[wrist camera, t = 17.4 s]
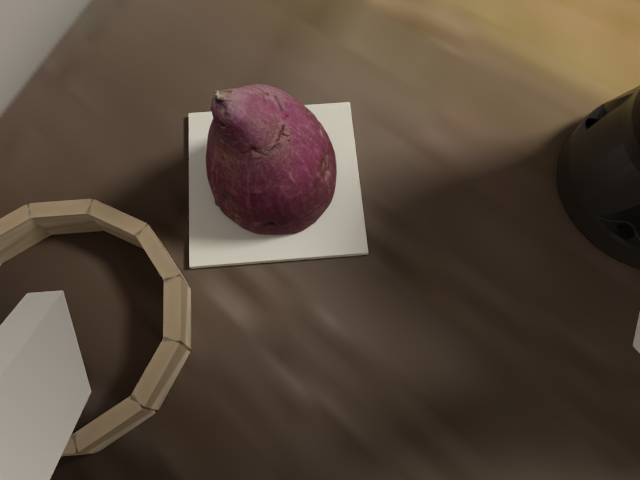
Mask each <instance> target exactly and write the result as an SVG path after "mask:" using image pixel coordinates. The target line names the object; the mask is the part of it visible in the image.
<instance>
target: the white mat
mask: <svg viewBox="0 0 640 480" xmlns="http://www.w3.org/2000/svg"><path fill="white" fill-rule="evenodd" d="M304 106H305V107H307V108H308V109H309V110H310V111H311V112H312V113H313V114H314V115H315V116H316V118H317V120H318V121H319V122H320V123H321V124H322V126H323V127H324V129H325V131H326V133H327V134H328V136H329V139H330V141H331V143H332V145H333V149H334V152H335V156H336V165H337V166H336V168H337V175H336V187H335V192H334V196H333V199H332V201H331V203H330V205H329V207H328V208H327V209H326V210H325V212H324V213H323V214H322V215H321V216H320V218H319V219H318V220H317V221H316V223H314V224H312V225H311V226H309V227H308V228H307V229H305V230H303V231H301V232H299V233H296V234H284V235H264V234H256V233H253V232H250V231H248V230H245V229H243V228H242V227H240V226H239V225H238V224H236V223H235V222H233V221H232V220H231V219H230V218H228V217H227V216H226V215H225V214H224V213H223V212H222V211H221V210H220V208H219V207H218V206H217V205H215V198H214V196H213V193H212V191H211V188H210V185H209V182H208V178H207V171H206V150H207V138H208V132H209V128H210V125H211V122H212V120H213V115H212V112H200V113H189V267H190V269H195V268H208V267H220V266H233V265H245V264H258V263H271V262H283V261H296V260H308V259H321V258H333V257H346V256H358V255H368V246H367V238H366V230H365V222H364V213H363V205H362V197H361V189H360V181H359V173H358V165H357V157H356V149H355V141H354V133H353V125H352V117H351V109H350V102H344V103H330V104H315V105H304Z"/></svg>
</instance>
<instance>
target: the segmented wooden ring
mask: <svg viewBox="0 0 640 480" xmlns="http://www.w3.org/2000/svg"><path fill="white" fill-rule="evenodd" d="M96 231H106V232H108V233H110V234H112V235H114V236H116V237H118V238H121V239H123V240H125V241H127V242H129V243H131V244H133V245H136V246H138V247H140V248H142V249H144V250H145V251H146V253H147V255H148V256H149V258H150V259H151V261H152V263H153V264H154V266H155V267H156V269H157V271H158V272H159V274H160V275H161V277H162V279H163V280H164V301H163V340H162V341H161V343H160V345H159V347H158V349H157V350H156V352H155V354H154V356H153V357H152V359H151V361H150V363H149V364H148V366H147V368H146V370H145V371H144V373H143V375H142V377H141V378H140V380H139V382H138V384H137V385H136V387H135V389H134V391H133V392H132V394H131V396H129V397H128V398H126V399H125V400H123V401H122V402H120V403H119V404H117V405H116V406H114V407H113V408H111V409H110V410H108V411H107V412H105V413H104V414H102V415H101V416H99V417H98V418H96V419H95V420H93V421H92V422H90V423H89V424H87V425H86V426H84V427H83V428H81V429H80V430H78V431H77V432H75V433H74V434H71V436H70V438H69V440H68V442H67V445H66V447H65V449H64V451H63V453H62V455H61V456H71V455H82V454H92V453H95V452H99V451H101V450H102V449H104V448H105V447H107V446H108V445H110V444H111V443H113V442H114V441H115V440H117V439H118V438H120V437H121V436H123V435H124V434H126V433H127V432H129V431H130V430H132V429H133V428H135V427H136V426H138V425H139V424H141V423H142V422H143V421H145V420H146V419H148V418H149V417H151V416H152V415H154V414H155V413H156V411H155V410H159V409H160V407H161V405H162V403H163V401H164V399H165V398H166V396H167V394H168V392H169V390H170V388H171V387H172V385H173V383H174V381H175V379H176V377H177V376H178V374H179V372H180V370H181V368H182V366H183V365H184V363H185V361H186V359H187V357H188V355H189V354H190V351H189V350H187V349H191V289H190V286H189V285H188V283H187V282H186V280H185V278H184V277H183V275H182V274H181V272H180V271H179V269H178V268H177V266H176V264H175V263H174V261H173V260H172V258H171V257H170V255H169V253H168V252H167V250H166V249H165V247H164V246H163V244H162V243H161V241H160V240H159V238H158V237H157V236H156V234H155V233H154V231H153V230H152V229H151V227H150V226H149V225H148V224H147V223H145V222H143V221H141V220H139V219H136V218H134V217H132V216H130V215H128V214H125V213H123V212H121V211H119V210H117V209H114V208H112V207H110V206H108V205H106V204H104V203H101V202H99V201H97V200H95V199H94V200H92V199H81V200H68V201H54V202H41V203H29V206H28V205H27V204H26V205H24V206H22V207H21V208H19V209H17V210H15V211H13V212H12V213H10V214H8V215H6V216H5V217H3V218H1V219H0V266H1V265H2V263H4V262H5V261H7V260H9V259H11V258H12V257H14V256H16V255H18V254H19V253H21V252H23V251H24V250H26V249H28V248H30V247H31V246H33V245H35V244H37V243H38V242H40V241H42V240H43V239H45V238H47V237H49V236H50V235H57V234H70V233H83V232H96ZM154 409H155V410H154Z"/></svg>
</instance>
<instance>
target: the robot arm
mask: <svg viewBox="0 0 640 480" xmlns="http://www.w3.org/2000/svg"><path fill="white" fill-rule="evenodd" d="M557 177H558V186H559V191H560V195H561V198H562V201H563V203H564V206H565V208H566V210H567V212H568V214H569V215H570V217H571V219H572V220H573V222H574V223H575V225H576V226H577V227H578V228H579V230H580V231H581V232H582V233H583V234H584V235H585V236H586V237H587V238H588V239H589V240H590V241H591V242H592V243H593V244H594V245H596V246H597V247H598V248H599V249H601V250H602V251H604V252H605V253H607V254H608V255H610V256H612V257H613V258H615V259H617V260H619V261H621V262H623V263H626V264H628V265H631V266H633V267H637V268H640V86H638V87H636V88H634V89H632V90H630V91H628V92H626V93H624V94H622V95H620V96H618V97H616V98H614V99H612V100H610V101H608V102H606V103H604V104H602V105H601V106H599V107H597V108H596V109H595V110H593V111H592V112H591V113H589V114H588V115H587V116H586V117H585V118H584V119H583V120H582V121H581V122H580V124H579V125H578V126H577V127H576V129H575V130H574V131H573V132H572V134H571V135H570V136H569V137H568V139H567V141H566V142H565V144H564V146H563V148H562V151H561V154H560V157H559V161H558V170H557ZM633 347H634V348H635V349H636V350H637V351H638V352H639V353H640V313H639V318H638V322H637V327H636V332H635V337H634V342H633ZM90 394H91V389H90V385H89V381H88V378H87V374H86V371H85V367H84V364H83V360H82V356H81V353H80V349H79V346H78V342H77V339H76V335H75V331H74V328H73V324H72V321H71V317H70V314H69V310H68V306H67V303H66V299H65V296H64V292H63V290H61V291H48V292H36V293H27V294H26V295H25V296H24V298H23V299H22V300H21V301H20V302H19V304H18V305H17V306H16V307H15V308H14V310H13V311H12V312H11V313H10V314H9V316H8V317H7V318H6V319H5V320H4V322H3V323H2V324H1V325H0V480H50V478H51V476H52V474H53V472H54V470H55V468H56V466H57V464H58V462H59V459H60V457H61V455H62V453H63V451H64V449H65V447H66V445H67V442H68V440H69V438H70V436H71V434H72V432H73V430H74V428H75V425H76V423H77V421H78V419H79V417H80V415H81V413H82V411H83V409H84V406H85V404H86V402H87V400H88V398H89V396H90Z"/></svg>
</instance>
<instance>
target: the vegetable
mask: <svg viewBox="0 0 640 480" xmlns="http://www.w3.org/2000/svg"><path fill="white" fill-rule="evenodd" d="M211 110H212V115H213V120H212V122H211V125H210V128H209V132H208V138H207V150H206V171H207V178H208V182H209V185H210V188H211V191H212V193H213V196H214V198H215V205H217V206H218V207H219V208H220V210H221V211H222V212H223V213H224V214H225V215H226V216H227V217H228V218H230V219H231V220H232V221H233V222H235V223H236V224H238V225H239V226H240V227H242V228H243V229H245V230H248V231H250V232H253V233H256V234H264V235H284V234H296V233H299V232H301V231H303V230H305V229H307V228H308V227H309V226H311V225H312V224H314V223H316V221H317V220H318V219H319V218H320V216H321V215H322V214H323V213H324V212H325V210H326V209H327V208H328V207H329V205H330V203H331V201H332V199H333V196H334V192H335V187H336V175H337V168H336V166H337V165H336V156H335V152H334V149H333V145H332V143H331V141H330V139H329V136H328V134H327V133H326V131H325V129H324V127H323V126H322V124H321V123H320V122H319V121H318V120H317V118H316V116H315V115H314V114H313V113H312V112H311V111H310V110H309V109H308V108H307V107H305V106H304V105H303V104H302V103H301V102H300V101H299V100H298V99H296V98H295V97H293V96H291V95H289V94H286V93H285V92H284V91H282V90H280V89H277V88H274V87H271V86H269V85H267V84H264V85H262V84H253V85H246V86H242V87H239V88H231V89H224V90H221V91H217V90H216V91H215V93H214V97H213V99H212V107H211Z"/></svg>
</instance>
